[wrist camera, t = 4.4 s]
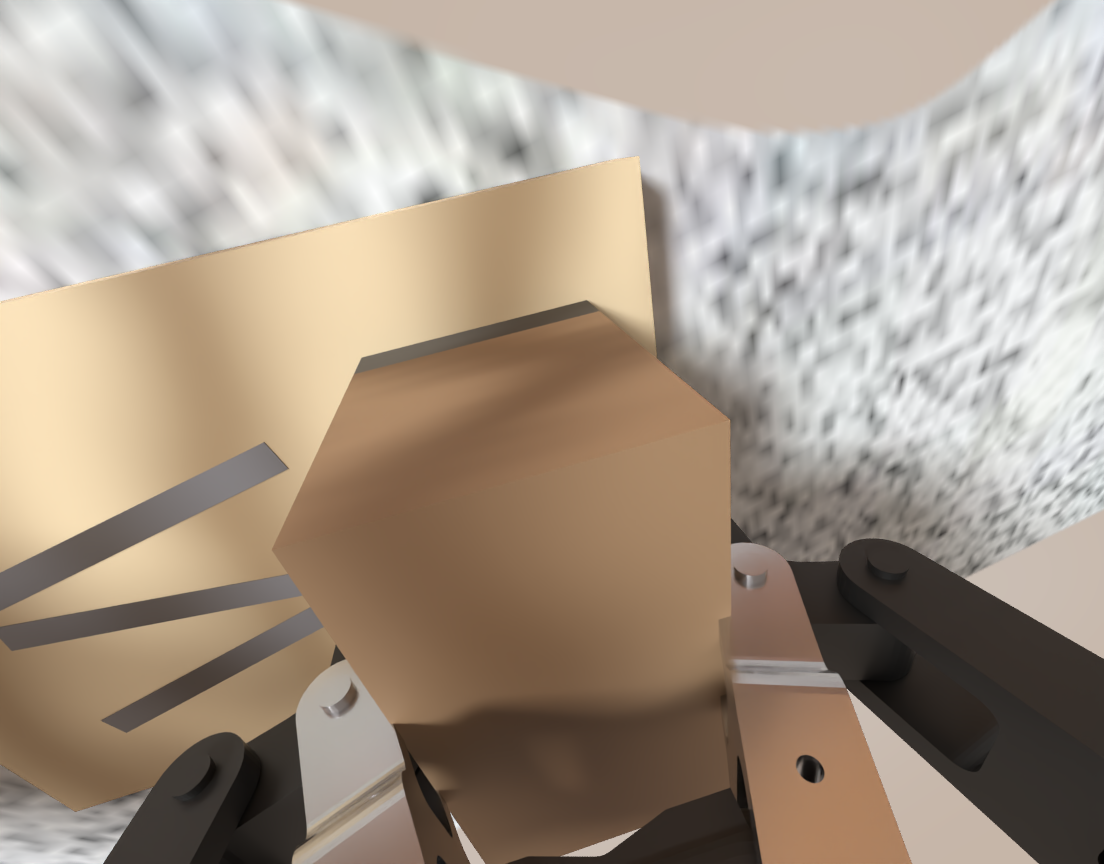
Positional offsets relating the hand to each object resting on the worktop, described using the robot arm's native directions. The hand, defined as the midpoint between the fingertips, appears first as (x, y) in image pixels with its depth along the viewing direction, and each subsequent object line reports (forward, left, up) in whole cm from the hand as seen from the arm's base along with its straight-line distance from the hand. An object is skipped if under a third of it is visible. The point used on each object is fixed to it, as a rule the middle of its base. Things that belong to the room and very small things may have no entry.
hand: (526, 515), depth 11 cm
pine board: (+6, 0, -2) cm, 6 cm away
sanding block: (0, 0, -1) cm, 1 cm away
